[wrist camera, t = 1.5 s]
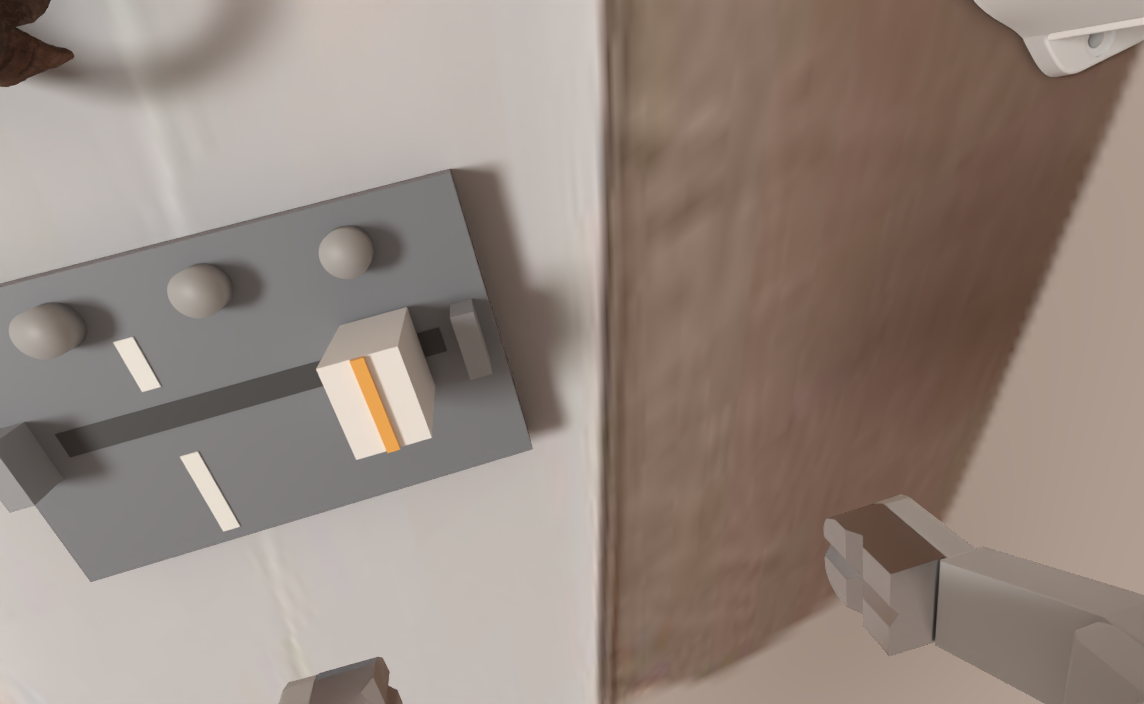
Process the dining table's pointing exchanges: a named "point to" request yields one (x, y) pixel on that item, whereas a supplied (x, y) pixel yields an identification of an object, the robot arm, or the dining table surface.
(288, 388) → the console
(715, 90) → the dining table surface
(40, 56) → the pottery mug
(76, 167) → the dining table surface
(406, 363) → the fader tab
